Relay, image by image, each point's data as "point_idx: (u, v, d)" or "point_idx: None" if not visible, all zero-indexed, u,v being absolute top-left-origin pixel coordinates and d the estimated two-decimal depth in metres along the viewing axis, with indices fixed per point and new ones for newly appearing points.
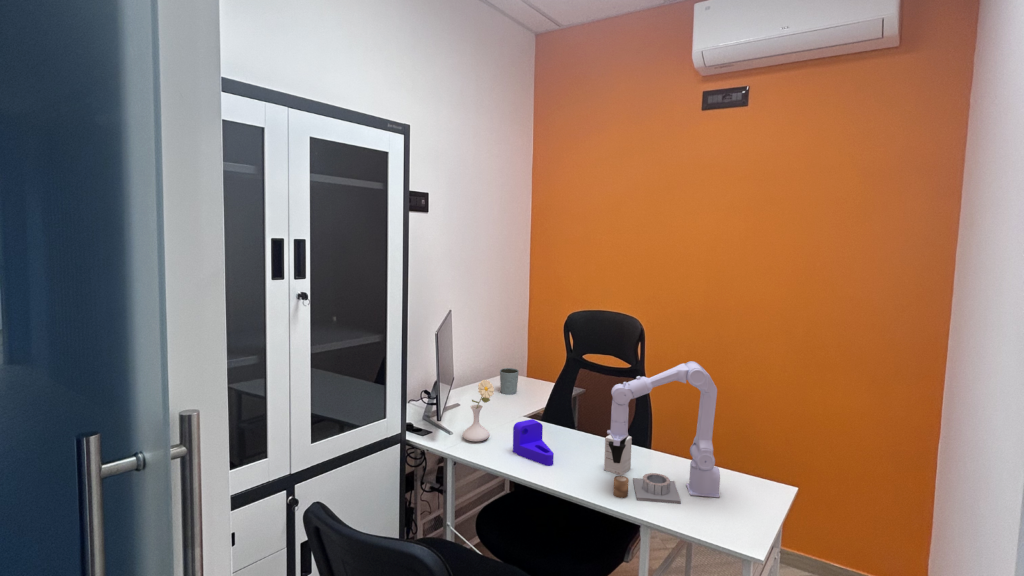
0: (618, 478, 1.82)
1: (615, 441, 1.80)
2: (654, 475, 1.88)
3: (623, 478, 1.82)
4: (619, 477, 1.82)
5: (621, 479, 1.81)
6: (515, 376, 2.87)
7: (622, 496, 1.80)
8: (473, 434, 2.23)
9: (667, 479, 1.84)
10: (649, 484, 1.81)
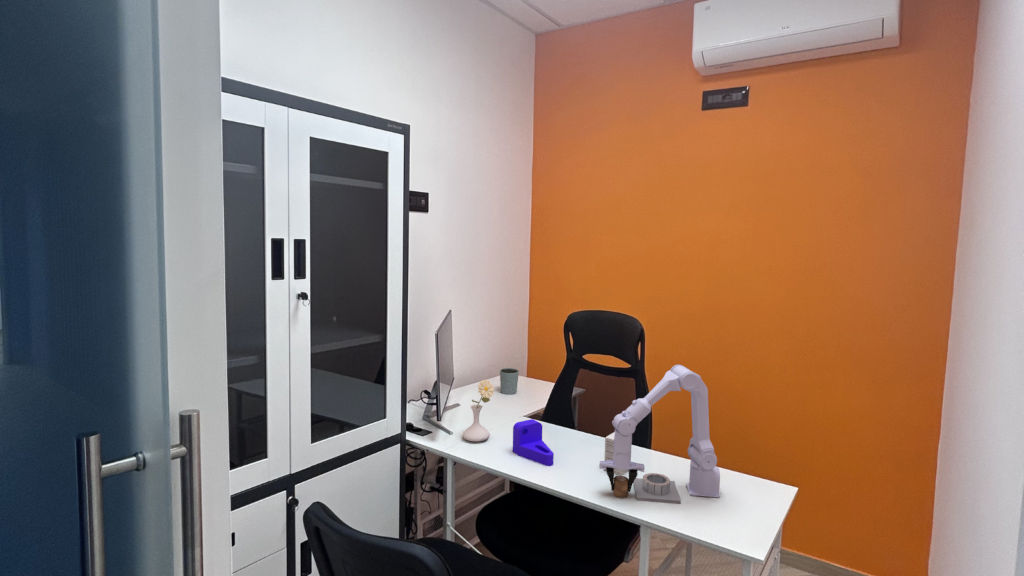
0: (618, 478, 1.82)
1: None
2: (654, 475, 1.88)
3: (623, 478, 1.82)
4: (619, 477, 1.82)
5: (621, 479, 1.81)
6: (515, 376, 2.87)
7: (622, 496, 1.80)
8: (473, 434, 2.23)
9: (667, 479, 1.84)
10: (649, 484, 1.81)
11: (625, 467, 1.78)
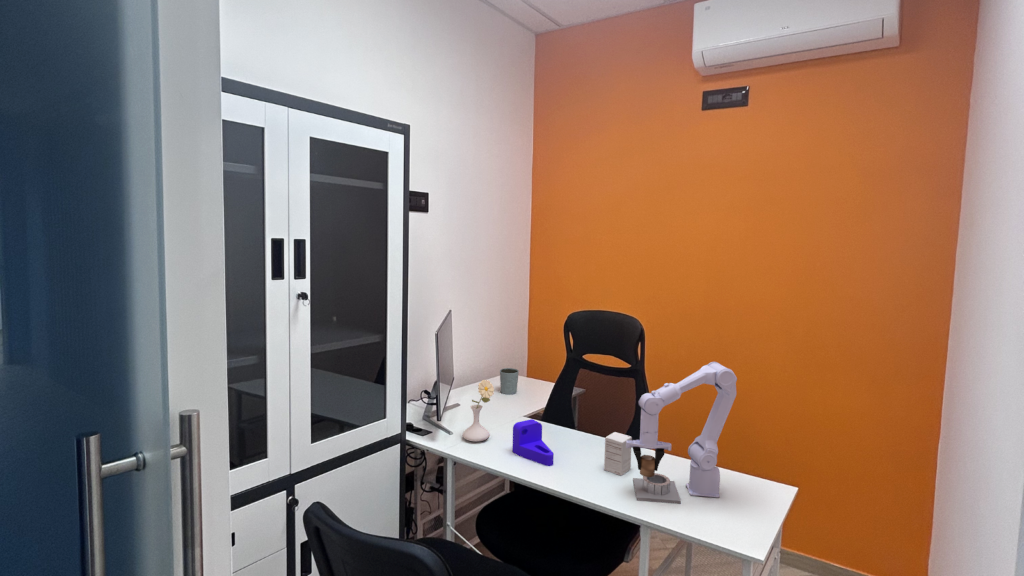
0: (645, 457, 1.83)
1: (626, 442, 1.84)
2: (654, 475, 1.88)
3: (650, 457, 1.83)
4: (646, 456, 1.83)
5: (648, 458, 1.82)
6: (515, 376, 2.87)
7: (649, 475, 1.81)
8: (473, 434, 2.23)
9: (667, 479, 1.84)
10: (649, 484, 1.81)
11: (652, 446, 1.79)
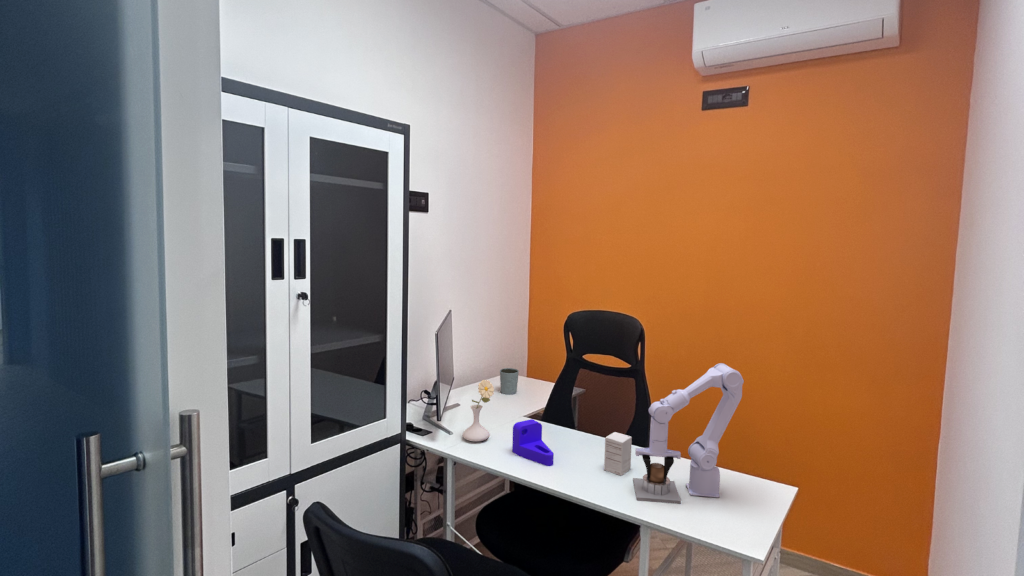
0: (654, 465, 1.84)
1: None
2: None
3: (659, 465, 1.84)
4: (655, 464, 1.84)
5: (657, 466, 1.83)
6: (515, 376, 2.87)
7: (658, 483, 1.82)
8: (473, 434, 2.23)
9: (667, 479, 1.84)
10: (649, 484, 1.81)
11: (662, 454, 1.80)
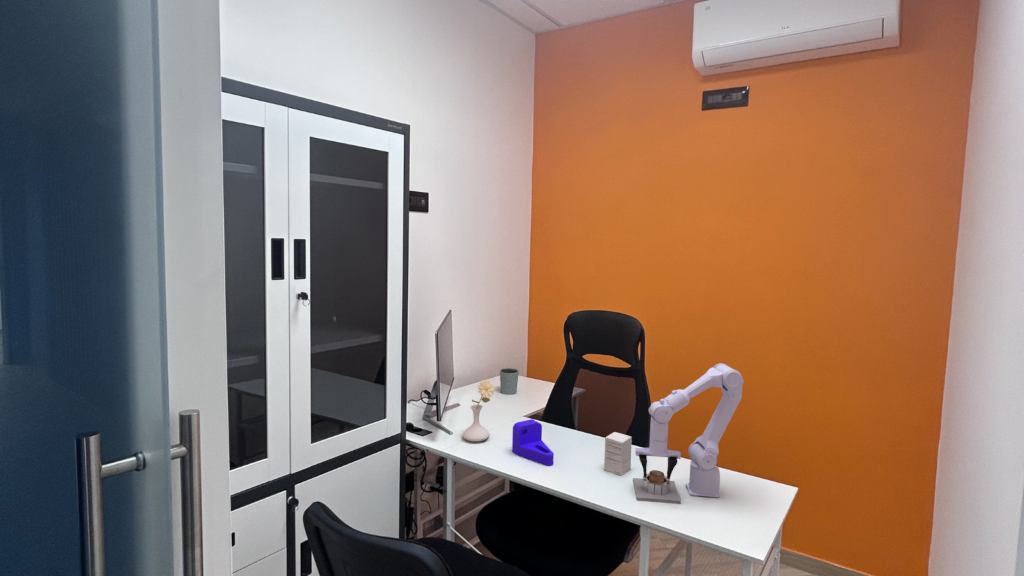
0: (654, 472, 1.84)
1: None
2: None
3: (659, 472, 1.84)
4: (655, 471, 1.85)
5: (657, 473, 1.83)
6: (515, 376, 2.87)
7: None
8: (473, 434, 2.23)
9: (667, 479, 1.84)
10: (649, 484, 1.81)
11: (662, 454, 1.80)
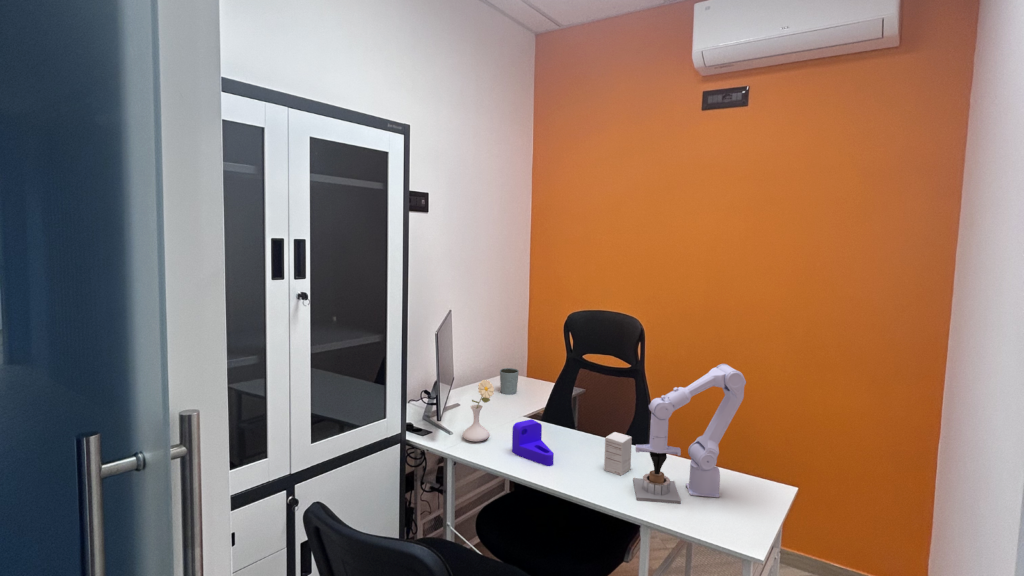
0: (654, 473, 1.84)
1: None
2: None
3: (659, 473, 1.84)
4: None
5: None
6: (515, 376, 2.87)
7: None
8: (473, 434, 2.23)
9: (667, 479, 1.84)
10: (649, 484, 1.81)
11: (662, 450, 1.80)
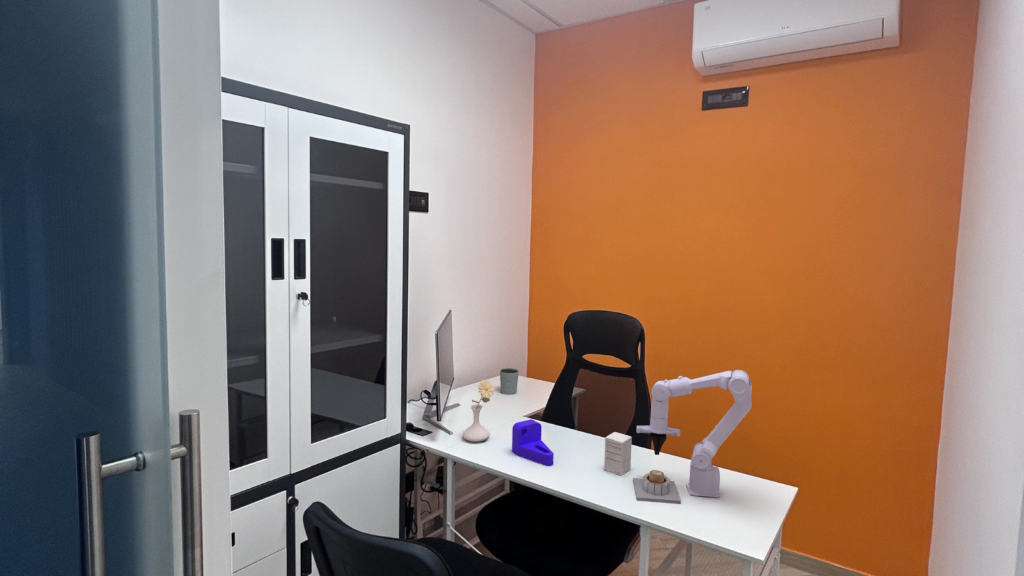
0: (654, 472, 1.84)
1: None
2: None
3: (659, 472, 1.84)
4: (655, 471, 1.85)
5: (657, 473, 1.83)
6: (515, 376, 2.87)
7: None
8: (473, 434, 2.23)
9: (667, 479, 1.84)
10: (649, 484, 1.81)
11: (662, 431, 1.87)
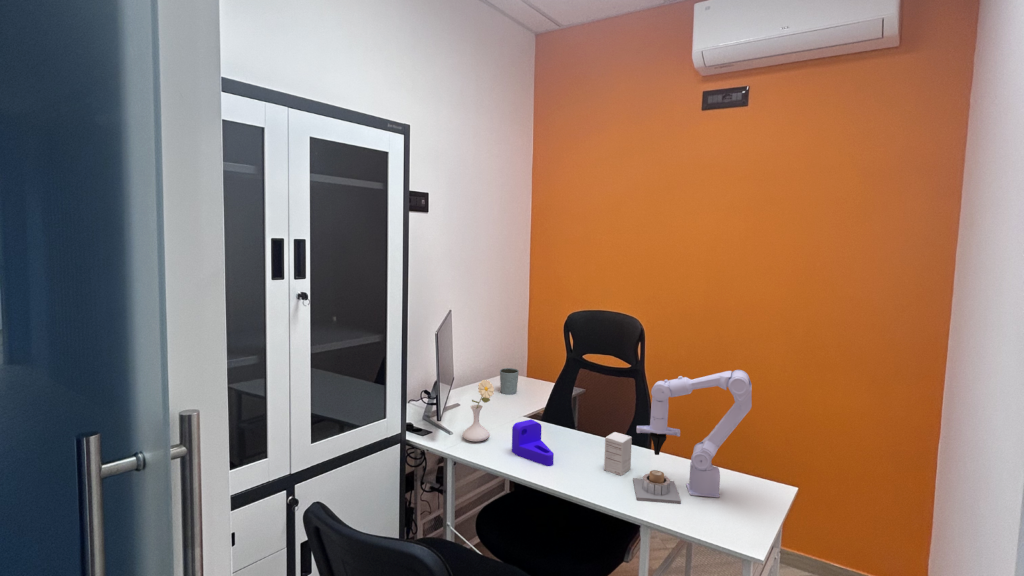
0: (654, 472, 1.84)
1: None
2: None
3: (659, 472, 1.84)
4: (655, 471, 1.85)
5: (657, 473, 1.83)
6: (515, 376, 2.87)
7: None
8: (473, 434, 2.23)
9: (667, 479, 1.84)
10: (649, 484, 1.81)
11: (662, 431, 1.87)
